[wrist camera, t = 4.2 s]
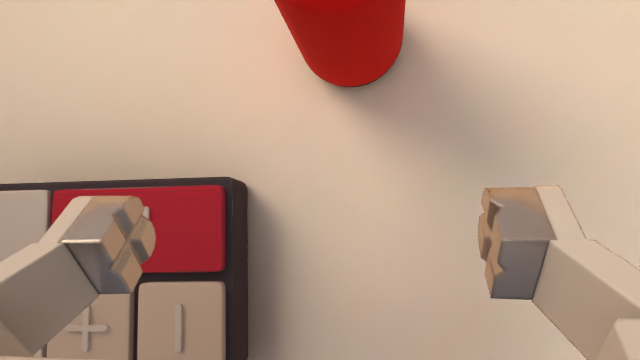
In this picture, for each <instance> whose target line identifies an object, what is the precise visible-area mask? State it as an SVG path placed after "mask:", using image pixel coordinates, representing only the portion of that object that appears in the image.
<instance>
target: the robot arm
mask: <svg viewBox="0 0 640 360" xmlns="http://www.w3.org/2000/svg"><path fill="white" fill-rule="evenodd" d="M481 202H482V206H483V210H484V213H483V214H482V215H481V216H480V217H479V224H478V242H479V249H480V254H481V258H482V259H483V260H485V261H486V262H487V263H486V269H485V276H486V281H487V285H488V289H489V293H490V298H497V299H524V300H532V302H533V303H534V304H535V305H536V306H537V307H538V308H539V309H540V310H541V311H542V313H543V314H544V315H545V316H546V317H547V318H548V319H549V320H550V321H551V322H552V323H553V324H554V325H555V326H556V327H557V328H558V329H559V330H560V331H561V332H562V334H563V335H564V336H565V337H566V338H567V339H568V340H569V341H570V342H571V343H572V344H573V345H574V346H575V347H576V348H577V349H578V350H579V351H580V352H581V353H582V355H583V356H584V357H585V358H586V359H587V360H640V270H639V269H638V268H636V267H635V266H633V265H632V264H630V263H629V262H627V261H626V260H624V259H623V258H621V257H620V256H618V255H617V254H615V253H614V252H612V251H611V250H609V249H608V248H606V247H605V246H603V245H602V244H600V243H599V242H597V241H596V240H587V238H586V236H585V234H584V232H583V230H582V228H581V226H580V224H579V222H578V220H577V218H576V216H575V214H574V212H573V210H572V208H571V206H570V204H569V202H568V200H567V198H566V196H565V194H564V192H563V190H562V188H561V187H560V186H558V185H553V186H533V187H508V188H485V189H484V191H483V195H482V201H481ZM144 209H145V207H144V206H143V204H142V202H141V200H140V198H138V197H135V196H78V197H76V198H74V199H72V200H71V202H70V203H69V204H68V206H67V207H66V208H65V209H64V211H63V212H62V213H61V214H60V216H59V217H58V218H57V220H56V221H55V222H54V223H53V225H52V226H51V227H50V228H49V230H48V231H47V232H46V233H45V235H44V236H43V237H42V239H41V240H40V241H39V242H38V243H32V244H30V245H28V246H27V247H25V248H23V249H22V250H20V251H18V252H17V253H15V254H13V255H11V256H10V257H8V258H6V259H5V260H3V261H1V262H0V360H99V359H71V358H44V357H35V356H34V354H36V353H37V352H38V351H39V350H40V349H41V348H42V347H43V346H44V345H46V344H47V343H48V342H49V341H50V340H51V339H52V338H53V337H54V336H56V335H57V334H58V333H59V332H60V331H61V330H62V329H63V328H64V327H66V326H67V325H68V324H69V323H70V322H71V321H72V320H73V319H74V318H76V317H77V316H78V315H79V314H80V313H81V312H82V311H83V310H84V309H86V308H87V307H88V306H89V305H90V304H91V303H92V302H93V301H94V300H96V299H97V298H98V297H99V294H132V292H133V290H134V288H135V286H136V284H137V282H138V280H139V278H140V277H141V275H142V273H143V271H142V268H141V264H142V263H144V262H145V261H146V260H148V259H149V258H150V257H151V255H152V253H153V250H154V248H155V241H156V234H155V229H154V226H153V224H152V222H151V221H150V220H149V219H148V218H146V217H145V216H143V215H142V214H143V211H144Z"/></svg>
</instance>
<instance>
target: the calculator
mask: <svg viewBox="0 0 640 360" xmlns="http://www.w3.org/2000/svg"><path fill="white" fill-rule="evenodd" d="M78 196H135V197H138V198H140V200H141V202H142V204H143V206H144V207H145V209H144V211H143V214H142V215H143V216H145V217H146V218H148V219H149V220H150V221H151V222H152V224H153V226H154V229H155V234H156V241H155V248H154V250H153V253H152V255H151V257H150V258H149V259H148V260H146V261H145V262H144V263H142V264H141V268H142V271H143V273H142V275H141V277H140V278H139V280H138V282H137V284H136V286H135V288H134V290H133V292H132V294H99V297H98V298H97V299H96V300H94V301H93V302H92V303H91V304H90V305H89V306H88V307H87V308H86V309H84V310H83V311H82V312H81V313H80V314H79V315H78V316H77V317H76V318H74V319H73V320H72V321H71V322H70V323H69V324H68V325H67V326H66V327H64V328H63V329H62V330H61V331H60V332H59V333H58V334H57V335H56V336H54V337H53V338H52V339H51V340H50V341H49V342H48V343H47V344H46V345H44V346H43V347H42V348H41V349H40V350H39V351H38V352H37V353H36V354H34V356H35V357H44V358H71V359H99V360H247V357H248V283H247V187H246V185H245V183H243V182H241V181H238V180H236V179H233V178H230V177H207V178H176V179H145V180H113V181H82V182H51V183H20V184H0V262H1V261H3V260H5V259H6V258H8V257H10V256H11V255H13V254H15V253H17V252H18V251H20V250H22V249H23V248H25V247H27V246H28V245H30V244H32V243H38V242H39V241H40V240H41V239H42V237H43V236H44V235H45V233H46V232H47V231H48V230H49V228H50V227H51V226H52V225H53V223H54V222H55V221H56V220H57V218H58V217H59V216H60V214H61V213H62V212H63V211H64V209H65V208H66V207H67V206H68V204H69V203H70V202H71V200H72V199H74V198H76V197H78Z"/></svg>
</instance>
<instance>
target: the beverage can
mask: <svg viewBox="0 0 640 360" xmlns="http://www.w3.org/2000/svg"><path fill="white" fill-rule="evenodd" d="M274 1H275V3H276V5H277V6H278V8H279V10H280V12H281V14H282V16H283V18H284V20H285V22H286V24H287V26H288V28H289V30H290V32H291V34H292V36H293V38H294V40H295V42H296V44H297V46H298V48H299V50H300V52H301V53H302V55H303V57H304V59H305V61H306V63H307V65H308V66H309V67H310V69H311V70H312V71H313V72H314V73H315V74H316V75H318V76H319V77H320V78H322V79H323V80H325V81H327V82H329V83H332V84H335V85H338V86H343V87H357V86H362V85H366V84H369V83H371V82H373V81H375V80H377V79H378V78H380V77H381V76H382V75H383V74H385V73H386V72H387V71H388V69H389V68H390V67H391V66H392V65H393V63H394V62H395V60H396V58H397V56H398V54H399V52H400V49H401V45H402V40H403V27H404V13H405V0H274Z"/></svg>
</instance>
